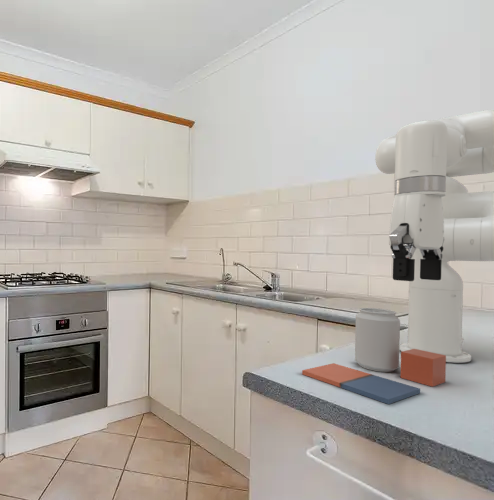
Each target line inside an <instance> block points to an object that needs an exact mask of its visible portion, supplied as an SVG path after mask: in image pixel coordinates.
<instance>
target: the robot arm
mask: <svg viewBox="0 0 494 500" xmlns="http://www.w3.org/2000/svg"><path fill="white" fill-rule="evenodd" d="M374 161H375V165H376V168H377V169H378V170H379V171H380V172H381V173H383V174H386V175H390V174H391V175H393V174H394V189H393V190H394V191H393V192H394V194H393V195H394V196H393V203H392V206H391V207H392V208H391V213H390V222H389V236H388V245H389V247H390V250H391V258H392V280H394V281H399V282H400V281H402V282H408V306H407V307H408V313H407V342H404V343H401V344H400V346H399V351H400V352H402V351H407V350H411V349H418V350H423V351H427V352H432V353H437V354H441V355H446V363H453V364H454V363H455V364H457V363H458V364H460V363H461V364H462V363H463V364H464V363H470V362H471V361H472V355H471V354H470V353H469V352H467V351H463V350H462V349H463V347H462V345H463V343H464V342H465V339H464V337H463V306H464V304H463V303H464V281H463V278H462V276H461V275H460V274H459V273H458V272H457V271H456V270H455V269H454V268H453V267H452V266H451V265H449V263H448V262H456V261H457V262H494V191H476V192H475V191H474V192H469V190H468V188H467V187H466V186H465V185H464V184H462V183H461V182H460V181H458V180H457V179H455V177H456V178H457V177H465V176H474V175H476V176H477V175H485V174H492V173H494V109H484V110H478V111H474V112H473V111H472V112H468V113H463V114H458V115H451V116H446V117H442V118H439V119H427V120H426V119H425V120H420V121H415V122H411V123H408V124H405V125H403V126H402V127H399V129H398V130H397V132H396V134H392V135H390V136H387V137H385V138H383V139H382V140H381V141H380V142H379V144H378V145H377V148H376V151H375V159H374Z"/></svg>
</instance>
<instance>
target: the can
mask: <svg viewBox="0 0 494 500" xmlns="http://www.w3.org/2000/svg"><path fill="white" fill-rule="evenodd" d="M396 314H397V312H396V311H395V310H391V309H385V308H377V307H361V308H359V312H358V313H357V314H355V330H354V331H355V332H354V333H355V334H354V335H355V336H354V340H355V341H354V361H355V362H356V363H357V364H358V365H359V366H360V367H361V368H364V369H367V370H370V371H374V372H381V373H391V372H394V371H395V370H397V369H399V368H400V349H399V347H400V343H401V342H400V340H401V319H399V317H398V316H397V315H396Z"/></svg>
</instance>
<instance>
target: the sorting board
mask: <svg viewBox="0 0 494 500" xmlns="http://www.w3.org/2000/svg"><path fill="white" fill-rule="evenodd" d="M301 375H303V376H306V377H309V378H312V379H314V380H318V381H320V382H324V383H325V384H329V385H331V386H335V387H338V388H340V389H344V390H346V391H349V392H351V393H354V394H358V395H361V396H363V397H366V398H369V399H372V400H375V401H378V402H381V403H384V404H387V405H391V404H393V403H396V402H399V401H402V400H405V399H409V398H410V397H414V396H416V395H419V394H421V388H419V387H416V386H413V385H409V384H406V383H402V382H399V381H396V380H392V379H388V378H385V377H382V376H379V375H376V374H372V373H369V372H365V371H361V370H359V369H354V368H352V367H348V366H345V365H342V364H338V363H334V362H333V363H329V364H325V365H319V366H315V367H310V368H306V369H302V371H301Z"/></svg>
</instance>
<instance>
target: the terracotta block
mask: <svg viewBox="0 0 494 500" xmlns="http://www.w3.org/2000/svg"><path fill="white" fill-rule="evenodd" d="M446 371H447V362H446V355H441V354H437V353H432V352H427V351H423V350H418V349H411V350H407V351H400V379H404V380H407V381H411V382H414V383H418V384H421V385H425V386H428V387H431V388H432V387H436V386H438V385H441V384H444V383H446V376H447V375H446V373H447V372H446Z"/></svg>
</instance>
